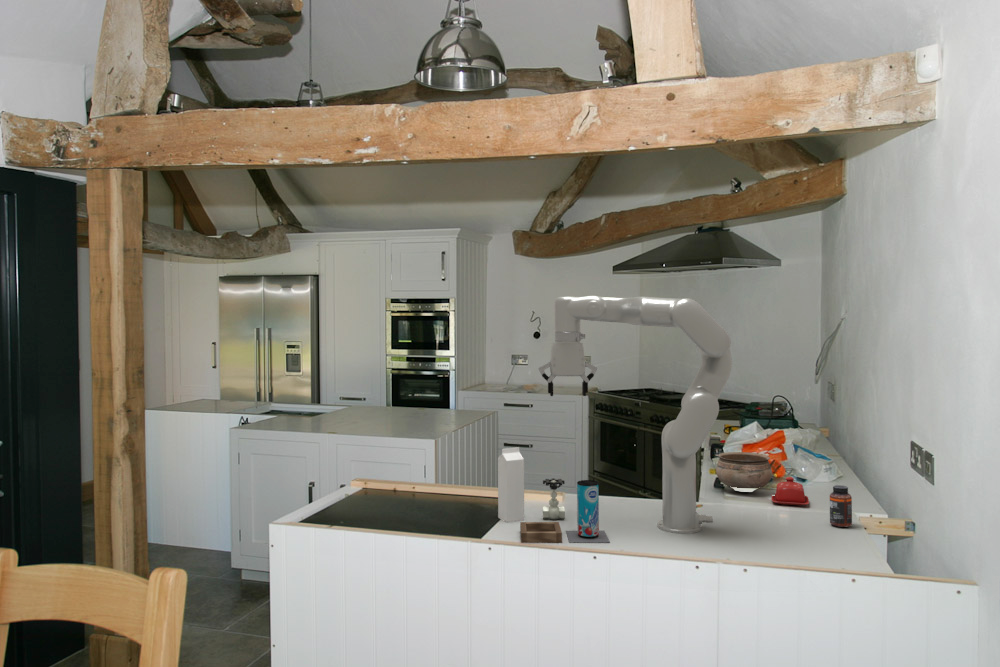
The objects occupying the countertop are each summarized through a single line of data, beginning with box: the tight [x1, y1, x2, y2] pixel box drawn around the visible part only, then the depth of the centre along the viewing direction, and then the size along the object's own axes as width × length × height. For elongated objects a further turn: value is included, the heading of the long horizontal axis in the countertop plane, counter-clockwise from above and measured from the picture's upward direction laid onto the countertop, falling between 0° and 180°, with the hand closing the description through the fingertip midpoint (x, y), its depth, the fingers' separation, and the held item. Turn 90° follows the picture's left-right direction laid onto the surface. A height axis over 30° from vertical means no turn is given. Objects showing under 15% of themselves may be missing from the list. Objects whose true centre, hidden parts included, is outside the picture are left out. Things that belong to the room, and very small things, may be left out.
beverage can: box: [576, 479, 600, 538], centre depth 202 cm, size 6×6×15 cm
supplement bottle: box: [829, 484, 853, 528], centre depth 214 cm, size 6×6×11 cm
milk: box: [497, 446, 525, 523], centre depth 221 cm, size 6×6×22 cm
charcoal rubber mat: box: [565, 529, 611, 544], centre depth 202 cm, size 11×11×1 cm
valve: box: [542, 477, 566, 521], centre depth 221 cm, size 7×7×12 cm
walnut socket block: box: [520, 521, 563, 544], centre depth 202 cm, size 11×11×3 cm
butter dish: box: [771, 476, 810, 506], centre depth 242 cm, size 12×12×8 cm
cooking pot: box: [715, 451, 773, 488], centre depth 258 cm, size 25×19×12 cm
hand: (567, 395), depth 216 cm, fingers open, 9 cm apart
